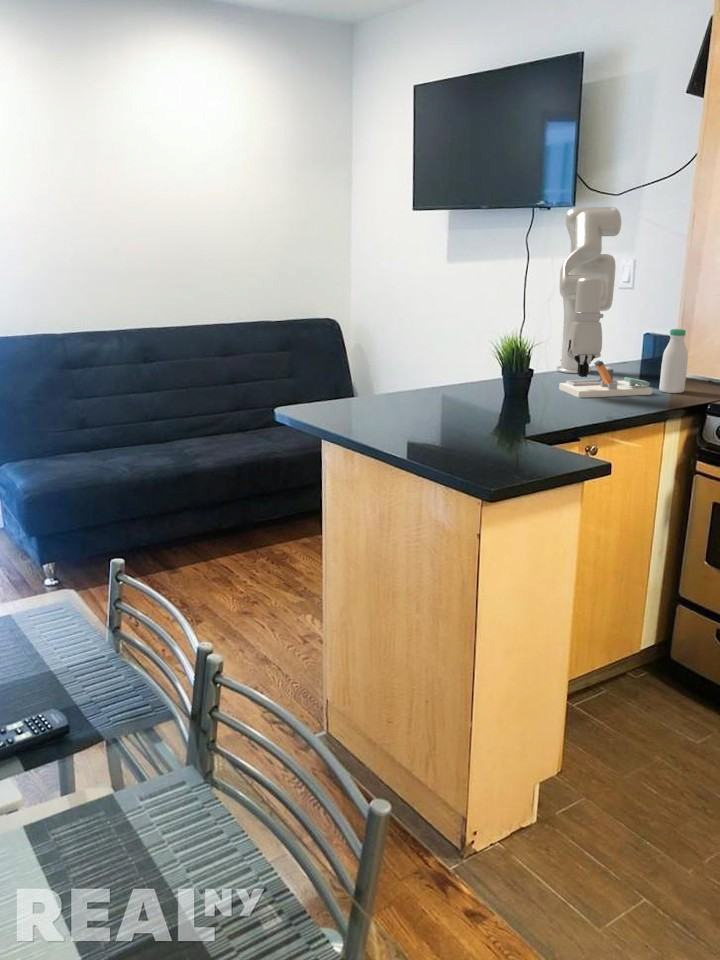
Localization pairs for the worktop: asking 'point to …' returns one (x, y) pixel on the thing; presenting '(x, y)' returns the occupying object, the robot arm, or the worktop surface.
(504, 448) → the worktop surface
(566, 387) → the panel
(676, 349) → the milk bottle
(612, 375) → the slider
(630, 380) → the rocker
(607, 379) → the lever
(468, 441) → the worktop surface
